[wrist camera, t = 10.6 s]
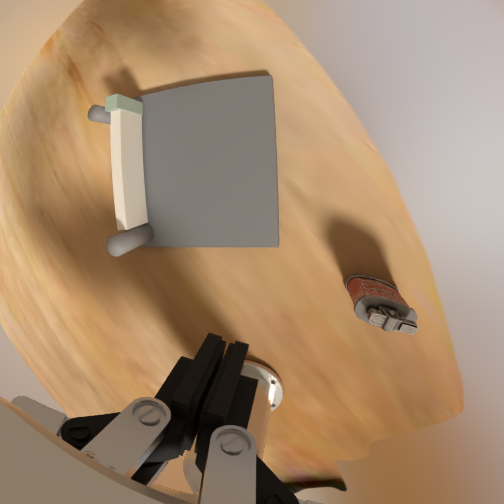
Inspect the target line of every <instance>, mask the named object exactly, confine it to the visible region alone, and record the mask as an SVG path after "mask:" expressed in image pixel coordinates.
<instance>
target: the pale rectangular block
mask: <svg viewBox="0 0 504 504" xmlns="http://www.w3.org/2000/svg"><path fill="white" fill-rule="evenodd" d="M105 111H106V112H110V113H111V163H112V180H113V193H114V204H115V213H116V222H117V230H128V229H131V228H134V227H136V226H139V225H142V224H145V223H148V217H147V207H146V196H145V184H144V169H143V148H142V115H143V103H142V102H139V101H137V100H134V99H131V98H129V97H126V96H123V95H120V94H118V93H117V94H114V95H111V96H108V97H105Z"/></svg>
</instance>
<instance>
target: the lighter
mask: <svg viewBox="0 0 504 504" xmlns="http://www.w3.org/2000/svg"><path fill="white" fill-rule="evenodd" d="M345 287H346V290H347V292H348V293H349V294H350V296H351V299H352V301H353V304H354V311H355V314H356V316H357V317H358V318H359V319H361V320H363V321H365V322H367V323H369V324H372V325H374V326H377V327H380V328H382V329H383V330H385V331H387V332H392V331H393V330H396V331H399V332H403V333H407V334H411V335H414V334H415V333H416V332H417V330H418V326H417V324H416V320H417V314H416V312H415V311H414V310H413V309H412V308H410V307H409V306H408V304H407V303H406V302H405V300H404V299H403V298H402V297H401V295H400V292H399V290H398V289H397V288H396V287H395V286H393V285H392V284H390V283H388V282H386V281H384V280H382V279H379V278H377V277H373V276H369V275H363V274H352V275H350V276H349V277H348V278H347V279H346V282H345Z"/></svg>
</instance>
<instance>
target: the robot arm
mask: <svg viewBox="0 0 504 504" xmlns="http://www.w3.org/2000/svg"><path fill="white" fill-rule="evenodd" d="M225 346H226V341H223V340H222V336H218V335H215V334H212V333H209V334H208V335H207V337H206V339H205V341H204V342H203V344H202V346H201V348H200V349H199V351H198V353H197V354H196V356H195V358H194V360H192V359H189V358H186V357H183V356H182V357H181V358H180V359H179V360H178V362H177V363H176V365H175V366H174V368H173V370H172V371H171V373H170V374H169V376H168V377H167V379H166V380H165V382H164V383H163V385H162V387H161V388H160V390H159V391H158V393H157V394H156V396H155V397H154V398H152V397H141V398H138V399H136V400H134V401H133V402H131V403H130V404H129V405H128V406H127V407H126V408H125V409H124V410H123V411H122V412H118V413H111V414H104V415H95V416H86V417H76V418H72V419H70V418H68V417H67V416H66V414H63V413H61V412H59V411H56V410H54V409H52V408H49V407H47V406H45V405H43V404H41V403H38V402H37V401H35V400H32V399H30V398H28V397H25V396H18V397H16V398H14V399H13V400H12V401H11V402H9V401H8V400H6V399H4V398H2V397H0V504H321V503H318V502H314V501H310V500H307V501H303V500H300V499H297V498H296V496H295V495H294V494H293V493H292V492H291V491H290V490H289V489H288V488H287V487H286V486H285V485H284V484H283V483H282V482H281V481H280V480H279V479H278V478H277V476H276V475H275V474H274V473H273V472H272V471H271V470H270V469H269V468H268V467H267V466H266V464H265V463H264V462H263V461H262V458H263V452H264V447H265V441H266V436H267V430H268V424H269V418H270V412H271V411H273V410H274V409H276V408H277V407H278V406H279V404H280V403H281V401H282V398H283V385H282V382H281V380H280V378H279V377H278V376H277V375H276V373H274V372H273V371H272V370H271V369H269V368H268V367H266V366H264V365H262V364H260V363H257V362H254V361H250V360H245V357H246V354H247V350H248V347H249V344H246V343H242V342H239V341H236V342H235V344H233V343H230V344H229V346H228V349H227V351H226V353H225V356H224V358H223V355H224V350H225ZM222 359H223V360H222ZM185 450H187V452H186V454H185V456H184V460H183V472H184V476H185V478H186V480H187V483H188V485H189V487H190V489H191V490H192V492H193V494H188V493H185V492H181V491H177V490H174V489H171V488H168V487H165V486H162V485H160V484H157V483H154V481H155V480H156V479H157V477H158V476H159V475H160V473H161V472H162V471H163V469H164V468H165V467H166V465H167V464H168V461H169V460H171V459H175V458H178V457H179V455H181V456H183V453H184V451H185Z"/></svg>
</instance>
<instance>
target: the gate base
mask: <svg viewBox="0 0 504 504" xmlns="http://www.w3.org/2000/svg"><path fill="white" fill-rule="evenodd" d="M132 99H134V100H137V101H139V102H142V103H143V115H142V148H143V169H144V184H145V196H146V207H147V217H148V223H145V224H142V225H139V226H136V227H134V228H131V229H128V230H126V231H125V232H122V233H119V234H117V235H114V236H111V237H110V238H109V239H108V240H107V249H108V252H109V253H110V254H111V255H112V256H114V257H118V256H121V255H123V254H125V253H127V252H129V251H131V250H133V249H135V248H137V247H279V210H278V176H277V149H276V126H275V107H274V89H273V78H272V75H268V76H254V77H243V78H234V79H226V80H218V81H211V82H205V83H199V84H193V85H188V86H182V87H177V88H173V89H168V90H164V91H159V92H155V93H151V94H147V95H143V96H140V97H136V98H132ZM88 119H89V120H90V121H95V122H101V123H106V124H111V113H110V112H106V111H105V107H103V106H99V105H93V106H92V107H91V108H90V109H89V111H88Z"/></svg>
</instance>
